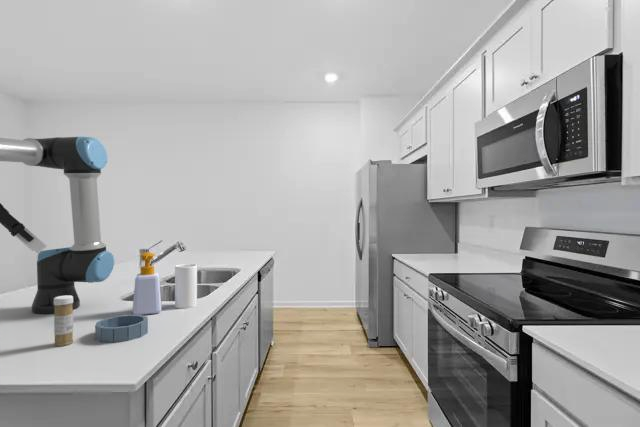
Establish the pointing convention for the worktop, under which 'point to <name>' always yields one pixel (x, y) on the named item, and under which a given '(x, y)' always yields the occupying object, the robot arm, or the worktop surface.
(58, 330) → the sprinkles bottle
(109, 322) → the bowl
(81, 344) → the worktop surface
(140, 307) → the soap bottle
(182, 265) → the cup
